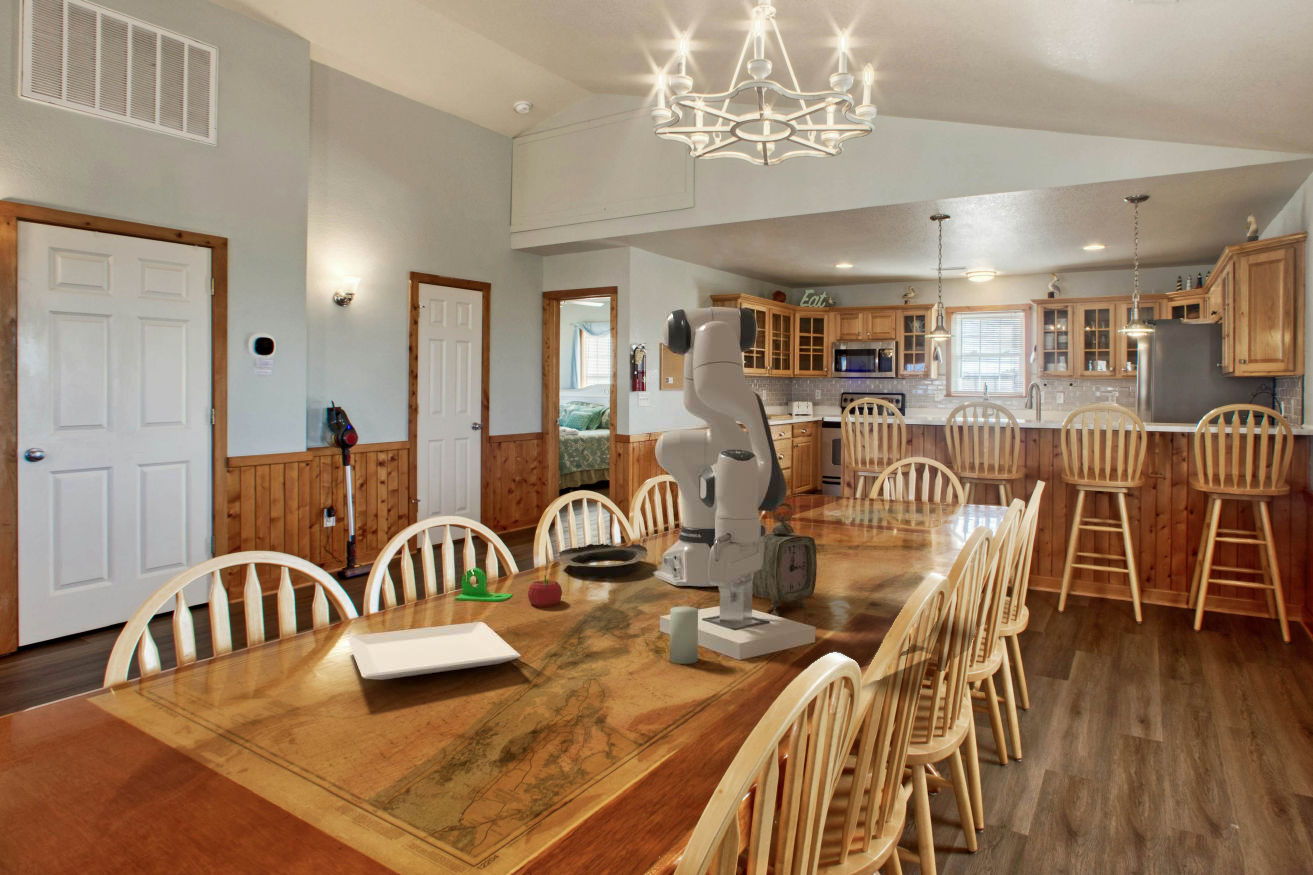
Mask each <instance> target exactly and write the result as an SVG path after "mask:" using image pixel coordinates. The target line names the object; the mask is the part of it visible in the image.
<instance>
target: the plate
mask: <svg viewBox="0 0 1313 875" xmlns="http://www.w3.org/2000/svg"><path fill="white" fill-rule="evenodd" d="M347 641H348V644H349V646H350V649H351V652H352V654H353V657H354V659H355V661H356V664H357V667H358V670H359V673H360V675H361V678H363V679H366V680H369V679H370V680H390V679H397V678H404V677H412V676H418V675H425V674H432V673H440V672H448V671H455V670H461V669H468V668H477V667H483V666H484V667H486V666H492V665H493V666H494V665H498V664H502V663H506V662H509V661H512V660H516V659H519V658H520V657H521V655H522V654H520V653H519V652H518V651H517V650H515V648H513V647H512V646H511V645H510V644H508V643H507V642H506V641H505V640H504V639H503V638H502V637H501V636H500V635H499V634H498V633H496V631H494V630H493V629H492V628H491V627H489V626H488V624H486V623H485V622H482V621H476V622H466V623H457V624H449V625H448V624H447V625H440V626H439V625H438V626H429V627H421V628H412V629H405V630H404V629H403V630H394V631H393V630H392V631H385V632H375V633H374V632H373V633H366V634H365V633H364V634H358V635H355V634H354V635H351V636H348V637H347Z"/></svg>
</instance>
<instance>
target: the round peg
mask: <svg viewBox="0 0 1313 875" xmlns="http://www.w3.org/2000/svg"><path fill="white" fill-rule="evenodd" d="M698 610H699V608H697V607H693V606H674V607H671V608H670V610H669V615H670V635H669V661H670V662H672V663H675V664H681V665H688V664H689V665H691V664H694V663H696V662H698V660H699V659H698V658H699V657H698V655H699V652H698V651H699V645H698Z"/></svg>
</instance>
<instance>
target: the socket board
mask: <svg viewBox="0 0 1313 875" xmlns="http://www.w3.org/2000/svg"><path fill="white" fill-rule="evenodd" d="M659 631H660V632H661V633H664V634H667V635H669V636H670V614H668V615H667V614H666V615H660V616H659ZM813 643H814V644H815V643H816V626H813V625H810V624H806V623H802V622H800V621H796V620H792V619H789V618H785V617H781V616H779V615H778V616H774V615H771V613H770V614H769V613H767V612H764V611H759V610H756V609H753V608H752V624H748V625H743V626H738V627H732V626H729V625H726V624H722V623H720V605H718V606H712V607H708V608H707V607H706V608H700V609H698V646H700V647H703V648H706V649H707V650H711V651H714V652H717V653H719V654H721V655H725V656H727V657H730V658H733V659H735V660H738V661H742V660H745V659H750V658H753V657H758V656H762V655H767V654H770V653H771V654H772V653H776V652H780V651H784V650H788V649H792V648H796V647H800V646H806V645H809V644H813Z"/></svg>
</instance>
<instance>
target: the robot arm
mask: <svg viewBox="0 0 1313 875" xmlns="http://www.w3.org/2000/svg"><path fill="white" fill-rule="evenodd" d="M758 331H759V327H758V323H757V320H756V317H755V314H754V313H753V311H752V310H751V309H749V308H746V307H745V308H744V307H739V306H738V307H736V308H735V307H734V308H733V307H726V306H710V307H701V308H700V307H698V308H691V309H685V310H684V309H683V308H682V309H676V310H673V311H671V312H669V314H667V316H666V319H665V321H664V324H663V329H662V333H663V334H662V337H663V340H664V343H665V345H666V347H667V349H668V350H669V351H670V352H671V353H673V354H677V355H682V356H684V361H683V406H684V408H685V409H686V410H687V412H688V413H690V414H691V415H692V416H694V417H696V418H699V419H701V420H702V421H704V422H705V423H706V424H707V425H708V428H706V429H676V430H671V431H670V430H669V431H666V432H662V434H661V435H660V436H659V437H658V439H657V440H656V443H655V445H654V446H655V447H654V455H655V458H656V462H657V464H658V465H659V466H660V467H661V468H662V469H663V470H664V471H666V472H667V474H669V475H670V476H671V477H672V478H673V480H674V481H675V483H676V484H677V486H678V488H679V491H680V495H681V500H682V516H683V518H682V519H683V521H682V526H681V527H677V528H676V529H677V530H678V531H676V533H679V535H678V540H677V541H676V542H675V543H674V544H672V545H671V546H670V547H669V548H668V549H667V550H666V551H665V552H663V555H662V558H661V568H660V569H658V570H655V571H652V575H653V576H654V577H656V578H658V579H659V580H662V581H664V582H665V583H668V584H672V585H674V586H678V587H679V586H681V587H683V586H685V587H686V586H691V587H718V591H719V595H720V594H721V603H722V605H727V606H728V605H730V604H732V603H733V601H732V599H733V595H731V592H730V588H731V583H732V582H734V581H737V580H748V581H753V578H754V572H756V571H758V570H760V569H761V568H762V565H763V561H764V536H766V534H768V533H767V526H766V525H765V524H763V523H762V522H761V521H760V512H773V510H774V509H776V508H777V507H778V506H779V505H780V504H781V503H784V500H785V499H786V496H787V482H786V477H785V474H784V472H783V469H782V467H781V464H780V461H779V458H778V454H777V451H776V447H775V443H774V440H773V435H772V432H771V428H770V427H771V426H770V424H769V420H768V416H767V412H766V409H765V405H764V403H763V400H762V398H761V396H760V395H759V394H758V393H757V392H755V391H753V389H752V388H751V387H750V385H749V383H748V380H747V379H746V377H745V372H744V363H743V355H742V353H744V352H747V351H749V350H751V349H752V348H753V347H754V346H755V343H756V340H757V337H758ZM737 422H738V423H737ZM739 423H741V424H742V425H743V426H744V427H745V429H746V430H747V431H745V429H743V428H742V427H741V426H740V425H739ZM778 508H779V507H778ZM778 508H777V509H778ZM777 509H776V510H777Z"/></svg>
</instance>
